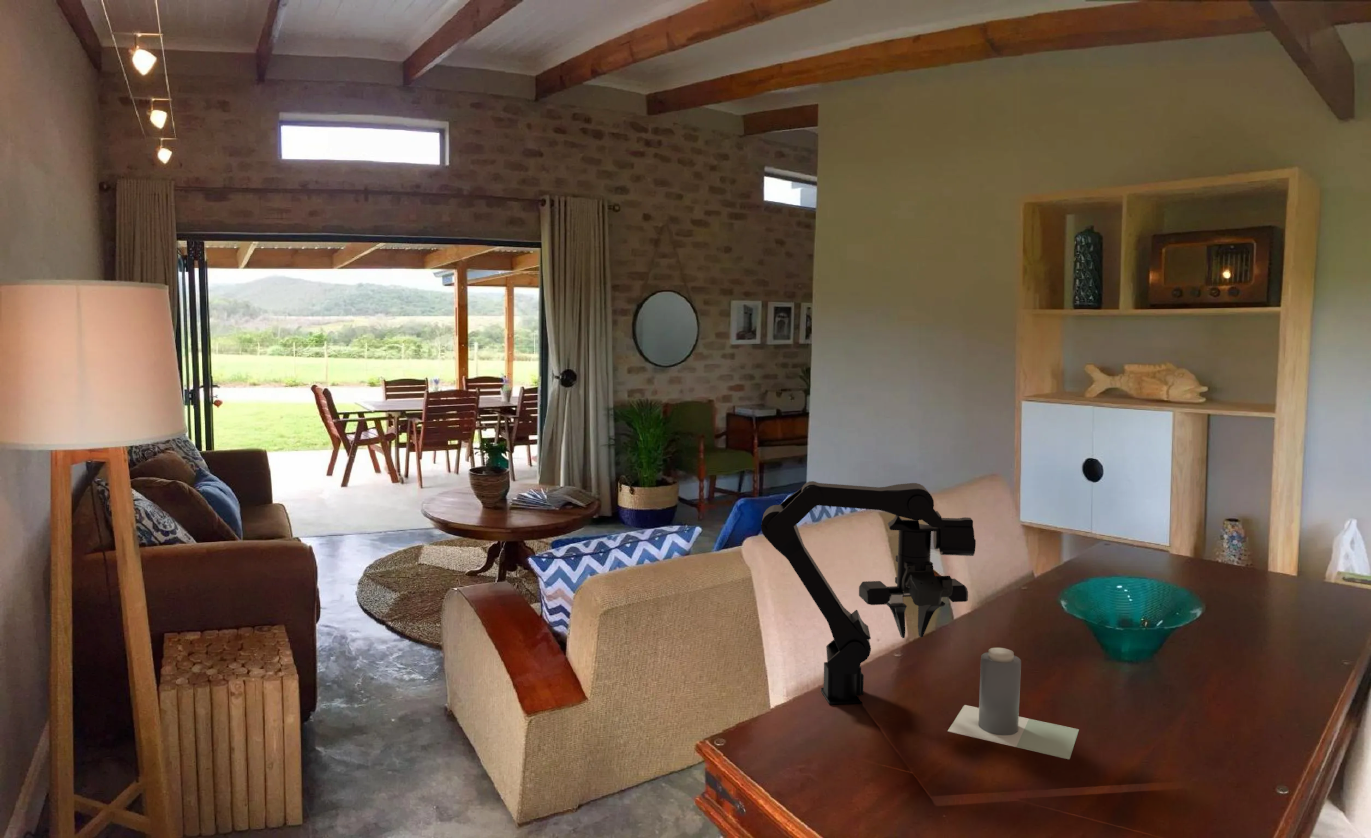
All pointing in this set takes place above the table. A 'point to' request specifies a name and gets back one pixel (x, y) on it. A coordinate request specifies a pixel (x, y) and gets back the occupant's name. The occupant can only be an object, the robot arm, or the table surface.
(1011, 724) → the jar
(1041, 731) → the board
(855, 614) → the robot arm
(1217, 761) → the table surface
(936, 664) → the table surface
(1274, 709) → the table surface
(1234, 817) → the table surface
